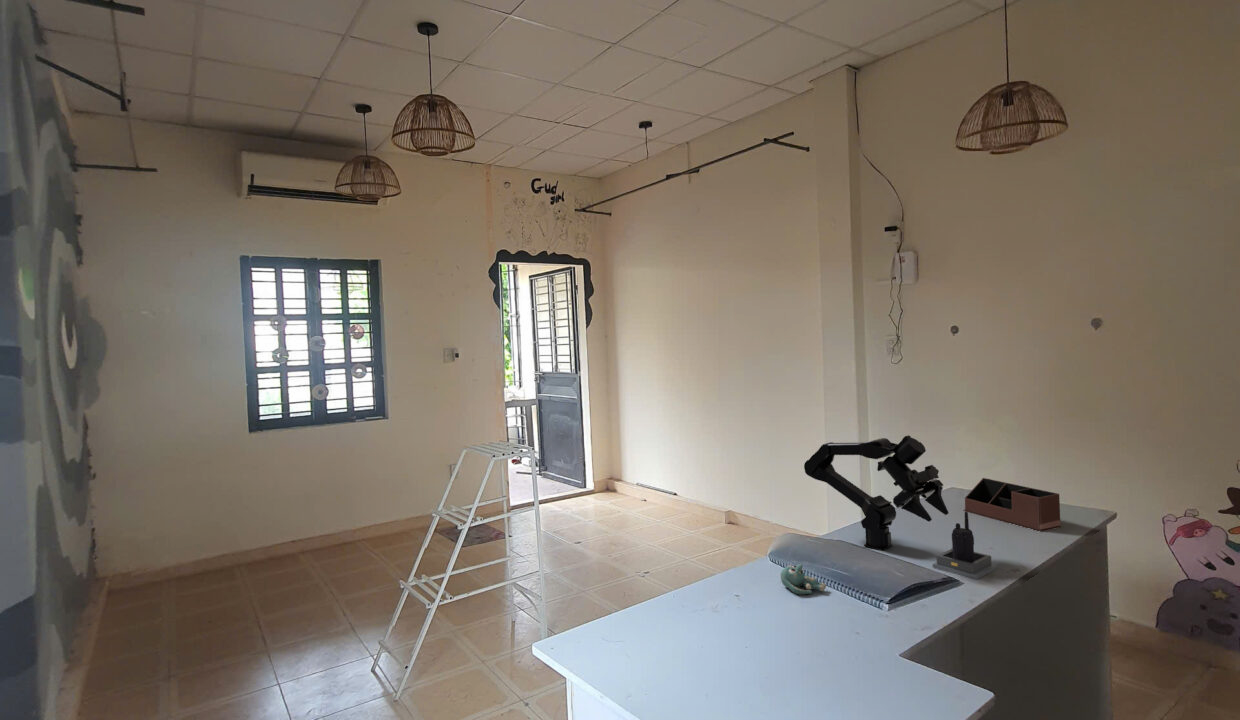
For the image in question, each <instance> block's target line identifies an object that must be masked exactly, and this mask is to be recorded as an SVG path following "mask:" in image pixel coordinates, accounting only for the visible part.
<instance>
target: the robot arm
mask: <svg viewBox="0 0 1240 720" xmlns="http://www.w3.org/2000/svg"><path fill="white" fill-rule="evenodd" d="M925 453H926V447H925V446H924V444H923V443H922V442H921V441H919V440H917V439H915V438H913V437H912V436H911V435H905V436H903V438H902V439H901V440H900V441H899V442H898V443H894V442H891V441H890V440H889V439H888V438H887V437H886V438H884V437H882V438H878V439H873V440H870V441H869V440H868V441H863V442H833V441H832V442H831V441H829V442H827V443H823V444H822V445H820V447H819V448H818V449H817V451H815V453H814V454H812V455H811V457H810V458H808V459H807V460H806V461H805V462H804V465H803V469H804V473H805V474H806V475H807V476H808V477H809V478H812V479H814V480H816V481H820V482H824V483H826V484H828V486H830V487H832V488H833V489H834V490H835V491H837V492H838V493H840V494H841V495H843V496H844V497H846V499H848V500H849V501H851V502H852V503H853V504H855V505H856V506H857V507H858V508H860V509H861V511H862V513H863V515H864V518H863V519H862V520H861V521H860V524H861V526H862V528H863V529H864V530H865V544H863V547H864V546H865V548H870V549H876V550H880V551H885V550H887V549H889V548H890V547H892V546H893V543H892V532H891V531H890V526H892V524H893V521H894V520H895V519H896V518H897V510H896V508H897V509H899V508H900V509H901V510H905V511H906V512H909V513H911V514H914V515H915V516H917V517H919V518H922V519H923V520H925V521H927V522H929V523H930V522H931V521H932V520H933V519H932V517H931V516H930V514H929V513H928V511H927V510H926V508H925V506H924V505H922V503H921V497H922V498H924V501H925V502H927V503H928V504H929V505H931V506H932V507H933V508H934V509H936V510H937V511H939V512H940V513H942V514H943V515H944V516H946V515H948V514H949V510H948V508H947V507H946V504H945V502H944V499H943V496H942V490H943V488H944V484H943V482H941V480H939V478H940V477H939V475H938V474H939V472H940V471H939V469H937V468H936V466H934V464H930V465H928V466H927V465H926V466H925V467H924V470H922V471H919V472H918V471H917V470H916V469H911V468H910V467H909V465H913V464H914V463H915V462H916V461H917V460H918V459H919V458H920V457H922V456H923V454H925ZM892 454H893V455H892ZM891 455H892V456H891ZM835 456H860V457H861V456H862V457H864V458H866V459H870V460H871V459H872V460H879V459H883V458H885V459H884V460H881V461H878V462H877V471H878V472H880V471H883V470H885V471H886V472H887V473H888V474H889V476H890V477H891V478H892V479H893V480H894V482H893V485H894V486H895V487H897V486H899V487H900V489H901V491H899V492H898V493H897V494H896V496H894V497H893V498H892V501H893V502H892V501H889V500H888V499H886V498H885V497H884V496H883V495H881V494H880V495H877V496H871V495H869V493H866V492H865V491H864V490H863V489H861V488H860V487H858V486H857V485H855V484H854V483H852V482H851V481H849V480H848V479H847V478H845V477H844V476H842V475H841V474H840V473H838V472H837V471H836V469H835V467H834V466H833V464H832V463H833V462H834V460H835ZM920 496H921V497H920ZM892 503H893V504H894V505H893V504H892ZM895 507H896V508H895Z"/></svg>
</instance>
